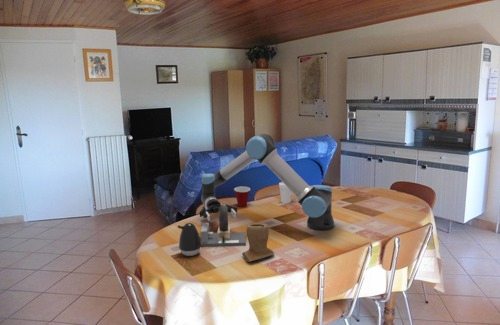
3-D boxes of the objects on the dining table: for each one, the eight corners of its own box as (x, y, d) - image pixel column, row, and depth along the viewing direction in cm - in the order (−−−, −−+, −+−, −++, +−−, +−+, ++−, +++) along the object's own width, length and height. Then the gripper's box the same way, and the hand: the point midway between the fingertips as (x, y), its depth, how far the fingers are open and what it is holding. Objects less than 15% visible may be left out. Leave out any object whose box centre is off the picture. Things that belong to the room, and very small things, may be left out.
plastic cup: (238, 209, 243) (238, 191, 241) (231, 205, 252) (231, 187, 250) (253, 206, 248) (253, 189, 245) (246, 202, 257) (245, 185, 255)
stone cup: (262, 248, 182) (262, 218, 179) (277, 256, 172) (277, 225, 169) (235, 255, 173) (234, 225, 171) (249, 265, 164) (249, 232, 161)
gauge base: (245, 234, 199) (245, 221, 197) (245, 245, 185) (245, 231, 184) (203, 236, 198) (203, 222, 197) (201, 246, 184) (200, 232, 183)
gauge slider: (230, 234, 195) (229, 204, 192) (229, 243, 183) (228, 211, 181) (218, 234, 195) (217, 204, 192) (217, 243, 183) (216, 212, 180)
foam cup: (292, 204, 251) (292, 185, 249) (278, 203, 253) (278, 185, 251) (293, 200, 260) (293, 182, 258) (280, 199, 262) (280, 181, 260)
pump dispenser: (180, 250, 181) (178, 220, 178) (201, 248, 182) (200, 218, 179) (177, 259, 171) (176, 227, 168) (200, 257, 172) (199, 226, 169)
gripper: (234, 208, 214) (246, 220, 194) (190, 214, 206) (198, 226, 187) (234, 196, 213) (245, 206, 193) (190, 201, 205) (197, 212, 185)
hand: (222, 216), depth 190 cm, fingers open, 13 cm apart
